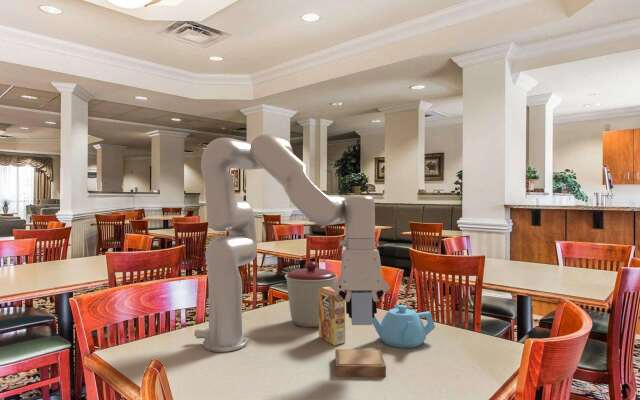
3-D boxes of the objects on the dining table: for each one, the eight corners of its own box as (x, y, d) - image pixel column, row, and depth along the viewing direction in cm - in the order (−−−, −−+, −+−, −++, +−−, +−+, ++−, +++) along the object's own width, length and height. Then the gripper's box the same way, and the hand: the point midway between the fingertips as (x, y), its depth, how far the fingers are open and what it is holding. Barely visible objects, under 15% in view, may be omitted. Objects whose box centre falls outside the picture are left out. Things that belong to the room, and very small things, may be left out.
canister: (274, 322, 144) (274, 261, 144) (313, 312, 157) (313, 256, 156) (308, 335, 131) (308, 268, 131) (348, 323, 143) (348, 262, 143)
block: (352, 325, 104) (351, 292, 104) (351, 319, 109) (350, 288, 109) (372, 324, 104) (371, 292, 104) (370, 319, 109) (369, 288, 109)
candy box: (346, 343, 124) (346, 291, 124) (334, 345, 122) (334, 293, 122) (329, 335, 131) (329, 286, 131) (317, 337, 129) (317, 287, 129)
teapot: (409, 355, 115) (410, 316, 115) (366, 341, 126) (366, 305, 126) (437, 341, 126) (437, 305, 126) (395, 330, 137) (395, 297, 137)
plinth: (335, 376, 101) (336, 365, 101) (335, 358, 112) (335, 348, 112) (385, 376, 101) (385, 365, 101) (380, 359, 112) (380, 349, 112)
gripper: (326, 246, 103) (327, 321, 103) (396, 245, 102) (397, 320, 102) (326, 243, 110) (327, 312, 110) (391, 242, 110) (392, 312, 110)
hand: (361, 315), depth 106 cm, fingers closed on block, 5 cm apart
